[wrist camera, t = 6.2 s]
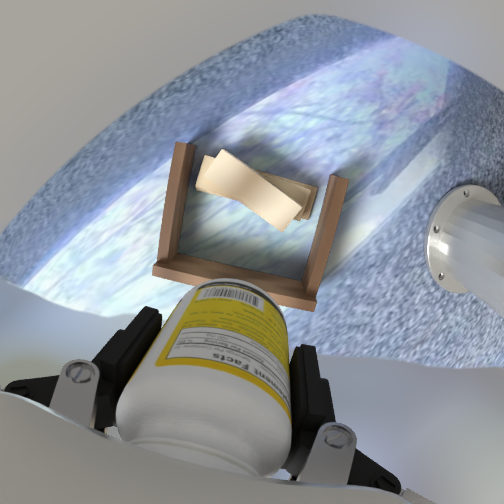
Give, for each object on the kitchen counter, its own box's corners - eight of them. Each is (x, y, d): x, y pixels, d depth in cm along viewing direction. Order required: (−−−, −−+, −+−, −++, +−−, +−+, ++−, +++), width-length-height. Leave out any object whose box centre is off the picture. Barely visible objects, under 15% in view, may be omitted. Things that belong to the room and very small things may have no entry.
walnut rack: (339, 177, 28) (352, 180, 23) (308, 291, 31) (313, 312, 27) (186, 143, 28) (172, 141, 23) (167, 260, 31) (152, 275, 27)
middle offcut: (309, 189, 28) (311, 190, 27) (298, 218, 29) (299, 221, 27) (207, 155, 27) (204, 155, 26) (198, 185, 28) (195, 186, 27)
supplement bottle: (219, 384, 15) (173, 548, 6) (155, 307, 14) (41, 461, 5) (308, 344, 14) (327, 537, 5) (248, 252, 13) (183, 443, 4)
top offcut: (301, 204, 27) (302, 207, 26) (282, 228, 28) (282, 232, 26) (224, 149, 26) (221, 149, 25) (206, 174, 27) (203, 175, 25)
